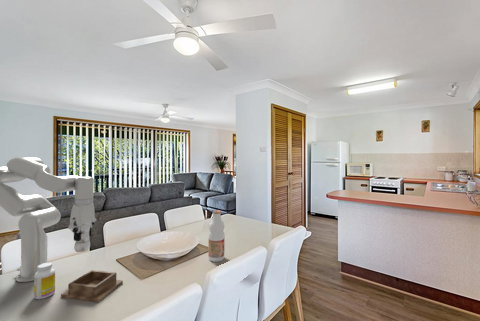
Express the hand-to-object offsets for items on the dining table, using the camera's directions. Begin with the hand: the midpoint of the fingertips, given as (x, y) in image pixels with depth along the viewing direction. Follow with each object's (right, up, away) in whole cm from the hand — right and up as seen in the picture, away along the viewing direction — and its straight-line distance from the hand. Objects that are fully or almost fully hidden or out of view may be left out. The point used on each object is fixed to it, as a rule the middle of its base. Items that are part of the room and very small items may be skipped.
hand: (82, 238), depth 109 cm
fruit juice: (+64, -20, +21) cm, 70 cm away
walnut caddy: (+13, -19, -11) cm, 25 cm away
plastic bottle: (0, -7, 0) cm, 7 cm away
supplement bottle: (-5, -19, -15) cm, 25 cm away
